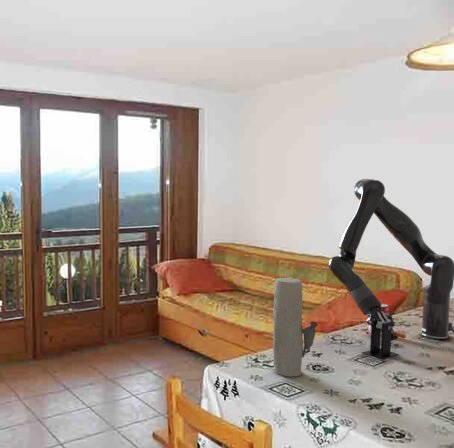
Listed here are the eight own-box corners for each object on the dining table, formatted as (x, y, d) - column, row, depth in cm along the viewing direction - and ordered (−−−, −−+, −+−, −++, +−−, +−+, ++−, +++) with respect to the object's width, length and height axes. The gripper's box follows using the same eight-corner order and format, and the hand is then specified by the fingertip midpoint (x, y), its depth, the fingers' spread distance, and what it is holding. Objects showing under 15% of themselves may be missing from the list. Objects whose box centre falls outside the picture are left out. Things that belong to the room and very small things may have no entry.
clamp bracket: (377, 351, 182) (379, 316, 181) (398, 357, 175) (400, 321, 174) (361, 355, 176) (362, 320, 175) (382, 362, 170) (383, 325, 169)
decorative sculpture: (316, 370, 161) (319, 279, 159) (315, 381, 152) (318, 284, 150) (272, 365, 165) (275, 276, 163) (269, 375, 156) (272, 281, 154)
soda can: (383, 334, 204) (385, 302, 203) (390, 339, 196) (391, 306, 195) (365, 333, 204) (367, 302, 203) (371, 338, 197) (373, 306, 196)
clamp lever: (386, 335, 183) (388, 329, 184) (404, 340, 177) (406, 333, 178) (369, 325, 177) (371, 319, 177) (387, 330, 171) (389, 323, 172)
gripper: (361, 296, 184) (390, 337, 175) (382, 292, 191) (412, 331, 182) (348, 307, 189) (376, 347, 179) (369, 303, 196) (397, 341, 187)
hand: (394, 339), depth 181 cm, fingers closed
